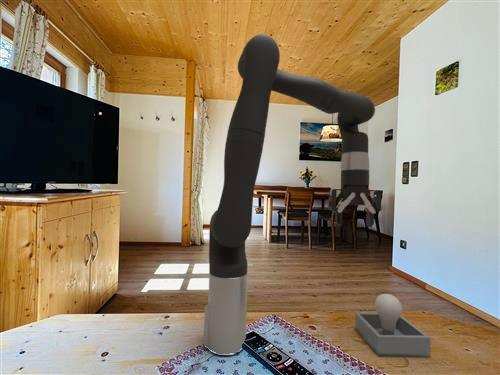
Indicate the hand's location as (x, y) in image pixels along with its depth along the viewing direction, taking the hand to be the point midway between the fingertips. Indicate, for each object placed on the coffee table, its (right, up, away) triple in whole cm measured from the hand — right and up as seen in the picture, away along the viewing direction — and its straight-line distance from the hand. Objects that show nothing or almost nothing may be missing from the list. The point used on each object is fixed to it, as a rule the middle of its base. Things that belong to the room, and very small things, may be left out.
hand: (354, 226), depth 71 cm
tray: (+6, -28, -8) cm, 30 cm away
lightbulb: (+5, -28, -8) cm, 29 cm away
